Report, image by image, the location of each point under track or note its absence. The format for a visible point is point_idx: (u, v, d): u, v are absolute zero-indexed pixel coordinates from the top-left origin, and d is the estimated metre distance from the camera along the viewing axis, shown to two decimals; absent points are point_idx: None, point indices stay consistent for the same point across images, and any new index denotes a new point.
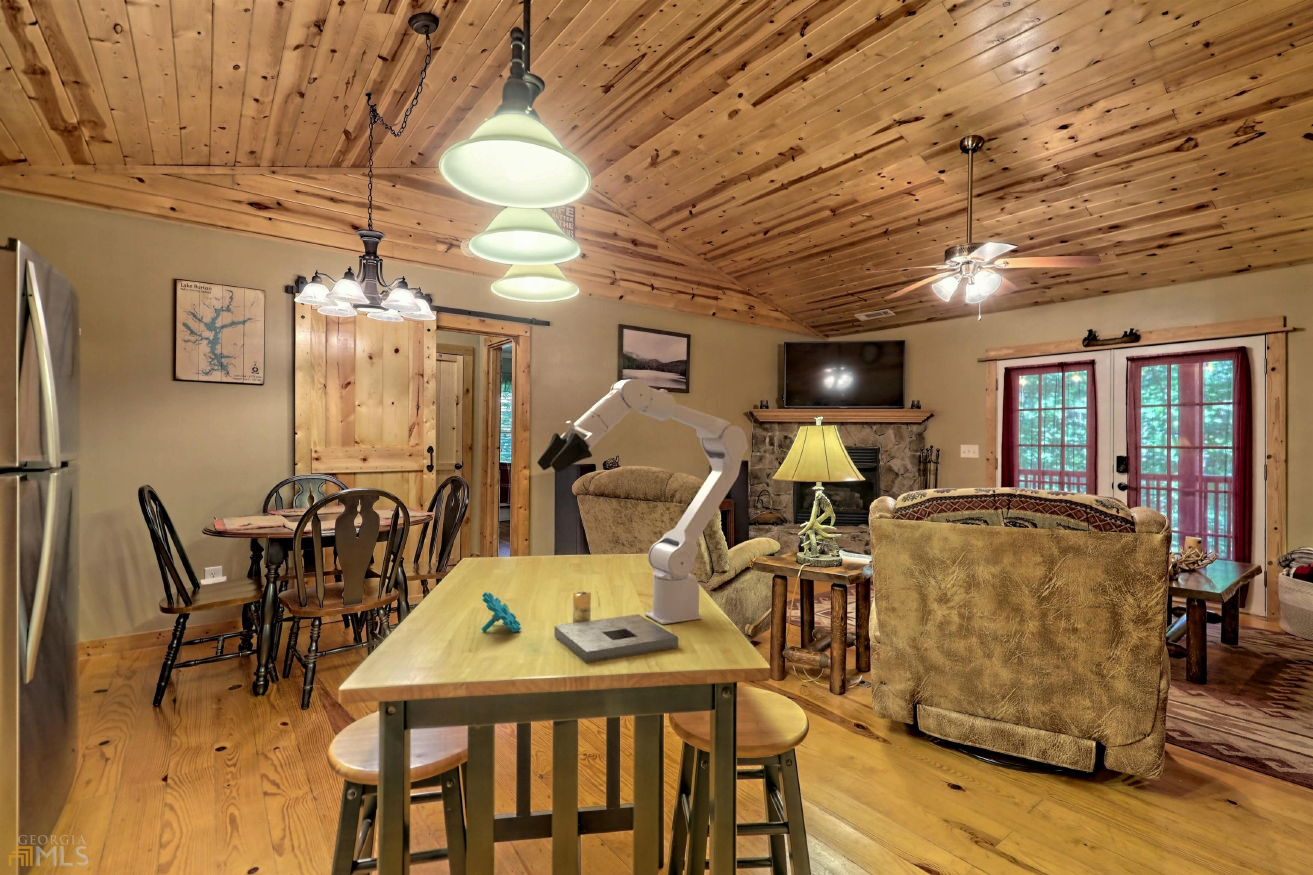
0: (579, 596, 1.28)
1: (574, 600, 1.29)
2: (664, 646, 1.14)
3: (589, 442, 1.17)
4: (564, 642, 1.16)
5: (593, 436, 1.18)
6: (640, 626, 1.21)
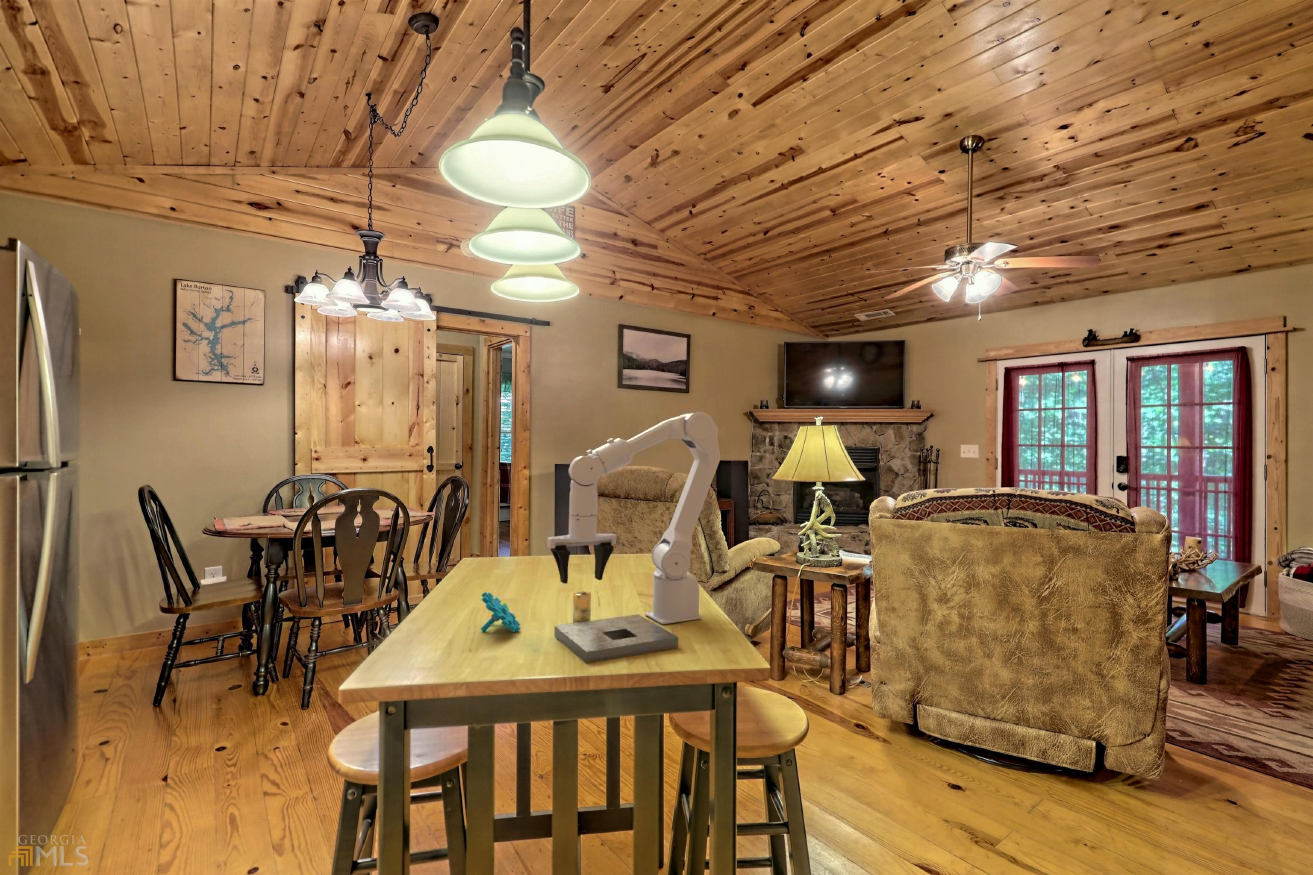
0: (579, 596, 1.28)
1: (574, 600, 1.29)
2: (664, 646, 1.14)
3: (548, 546, 1.26)
4: (564, 642, 1.16)
5: (548, 539, 1.27)
6: (640, 626, 1.21)
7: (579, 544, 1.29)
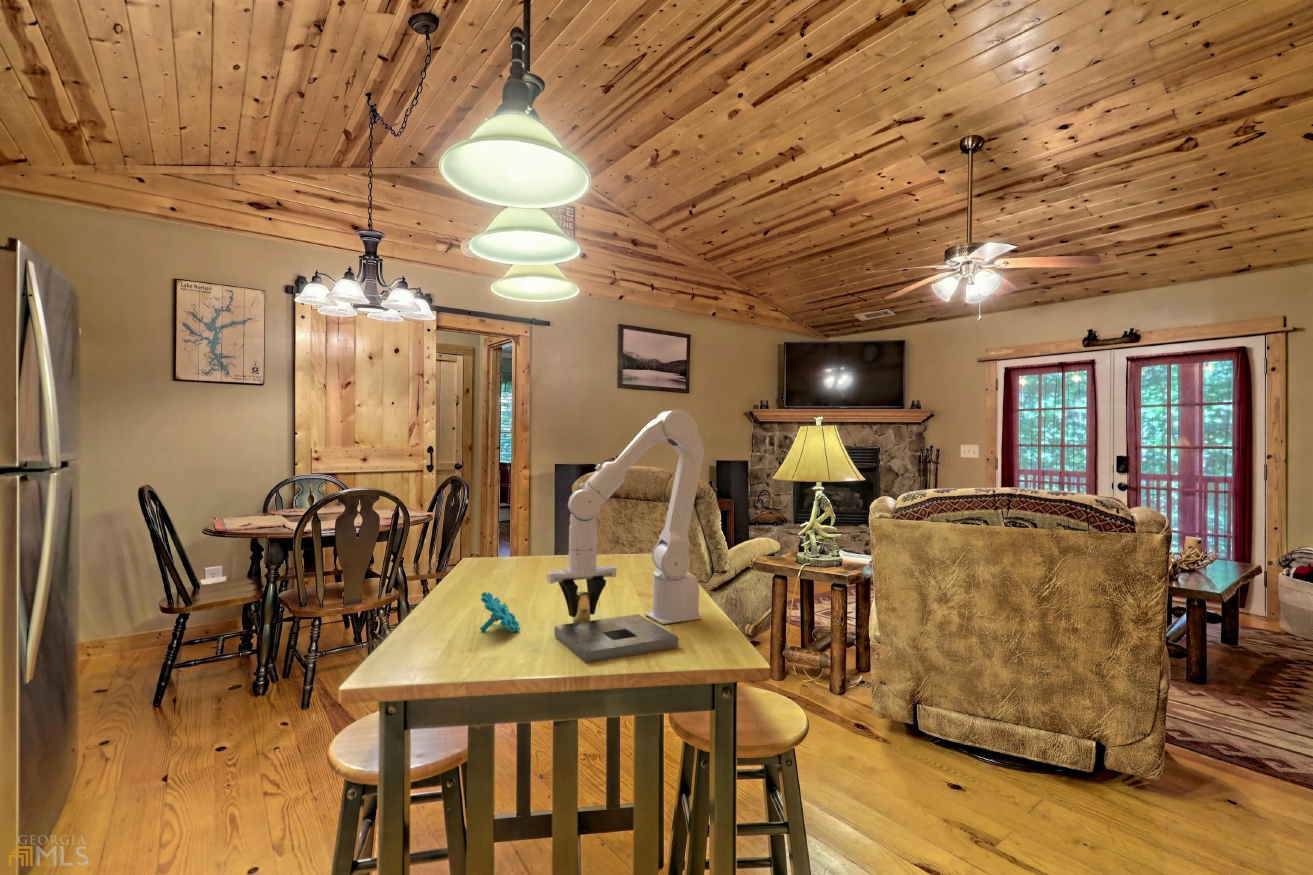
0: (579, 596, 1.28)
1: None
2: (664, 646, 1.14)
3: (548, 581, 1.27)
4: (564, 642, 1.16)
5: (548, 574, 1.27)
6: (640, 626, 1.21)
7: (579, 578, 1.29)
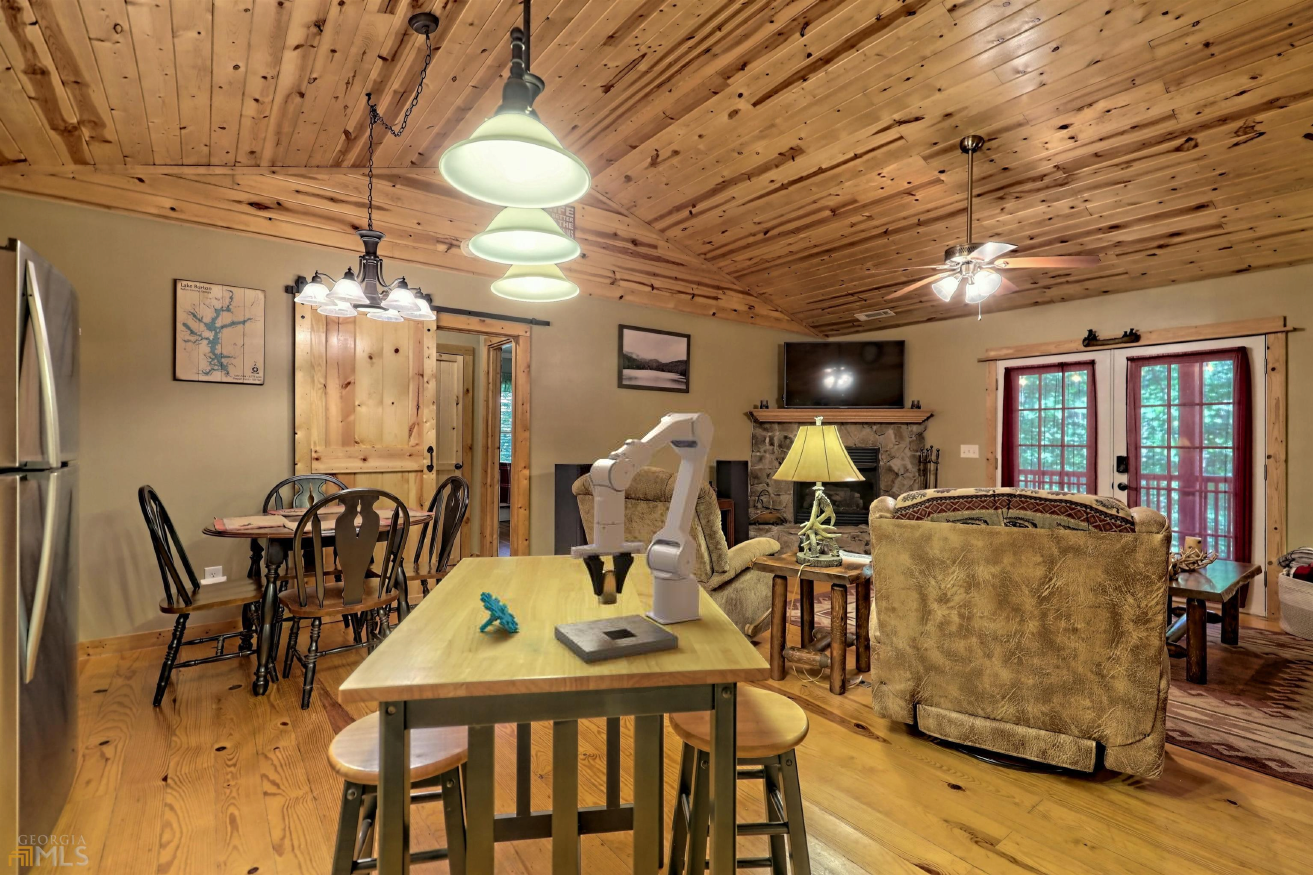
0: (605, 573, 1.19)
1: None
2: (664, 646, 1.14)
3: (572, 556, 1.17)
4: (564, 642, 1.16)
5: (572, 549, 1.17)
6: (640, 626, 1.21)
7: (605, 554, 1.20)
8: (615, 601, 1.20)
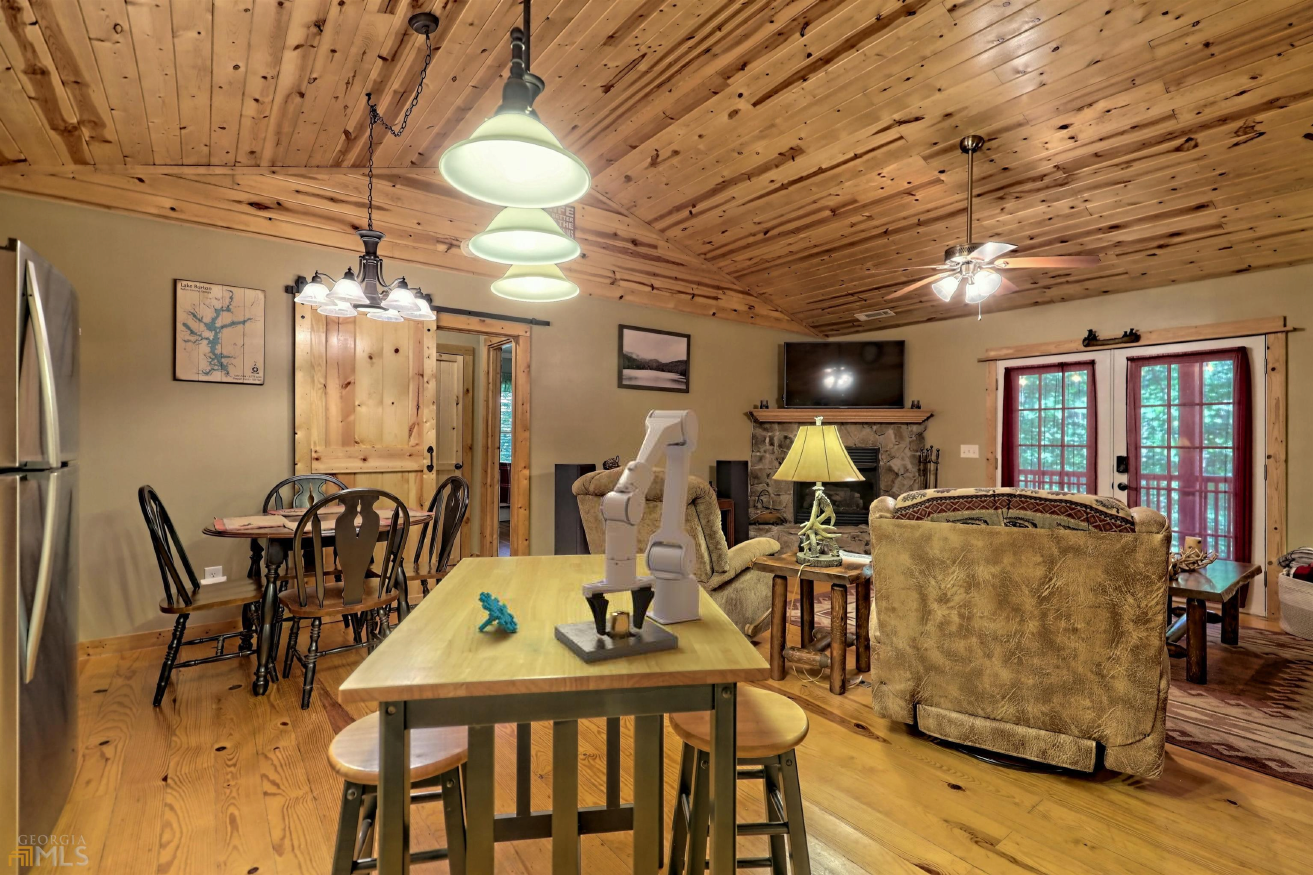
0: (618, 616, 1.15)
1: (612, 620, 1.15)
2: (664, 646, 1.14)
3: (584, 594, 1.13)
4: (564, 642, 1.16)
5: (583, 586, 1.13)
6: None
7: (617, 590, 1.16)
8: None
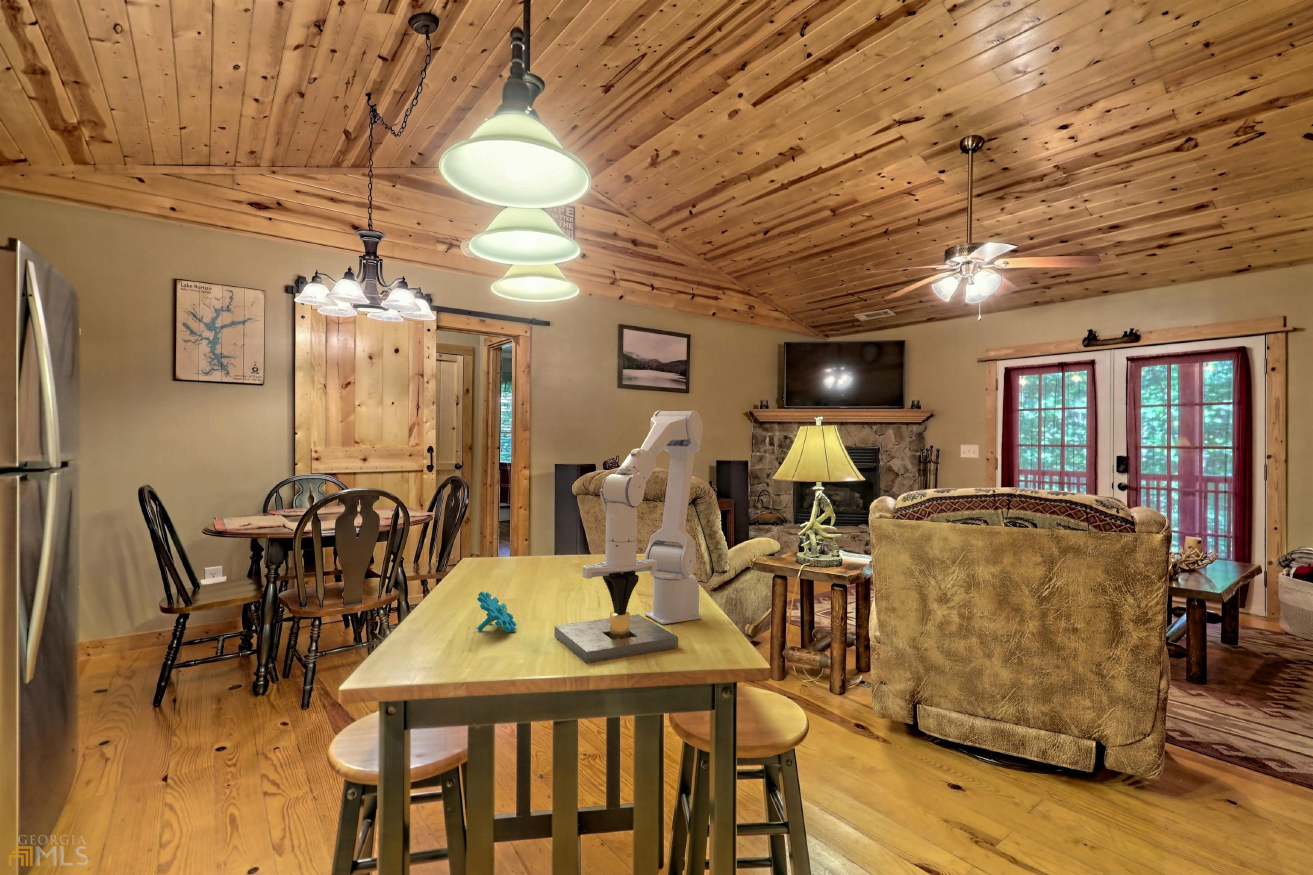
0: (618, 616, 1.15)
1: (612, 621, 1.15)
2: (664, 646, 1.14)
3: (584, 576, 1.13)
4: (564, 642, 1.16)
5: (584, 568, 1.13)
6: (640, 626, 1.21)
7: (617, 573, 1.16)
8: None
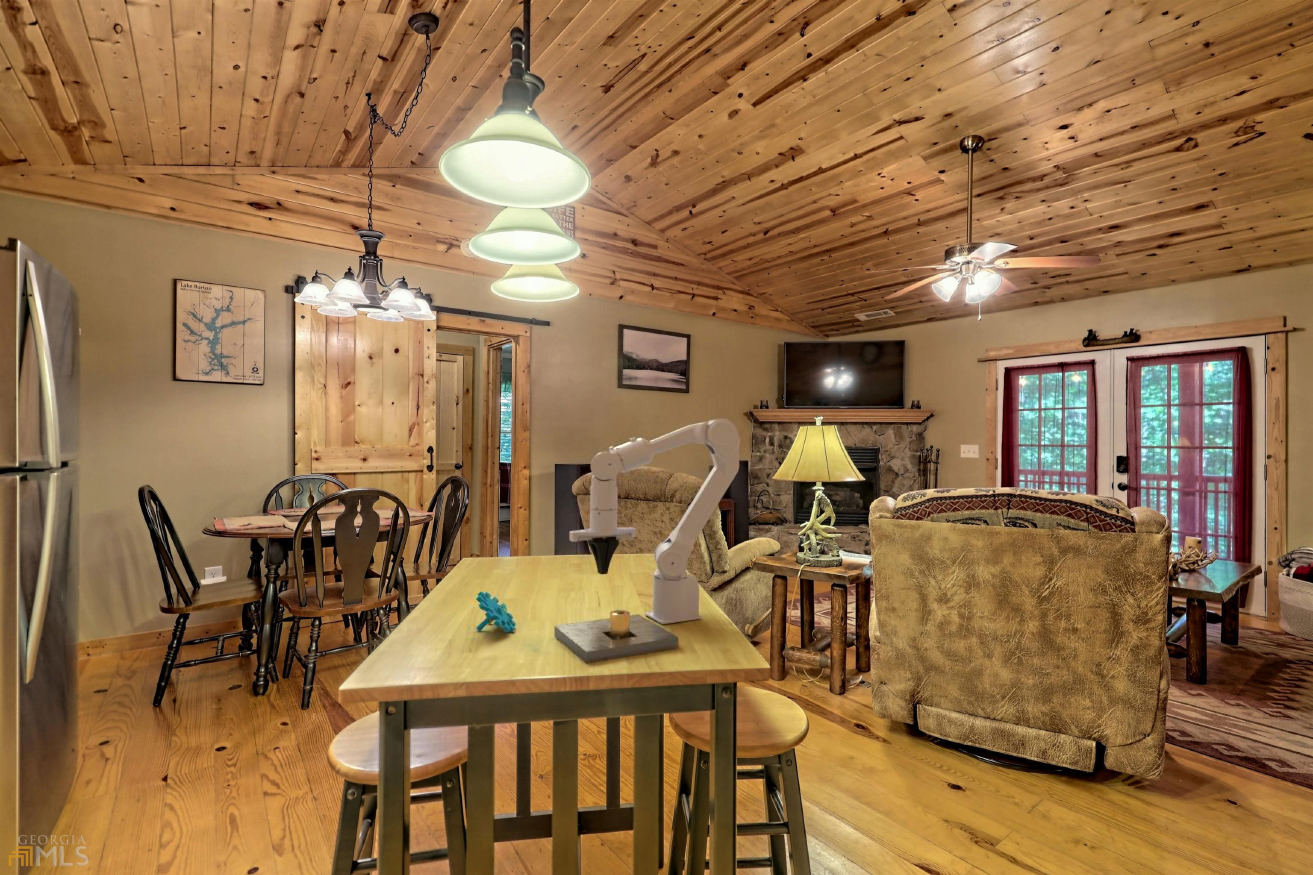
0: (618, 616, 1.15)
1: (612, 621, 1.15)
2: (664, 646, 1.14)
3: (571, 539, 1.30)
4: (564, 642, 1.16)
5: (570, 533, 1.30)
6: (640, 626, 1.21)
7: (600, 537, 1.33)
8: None
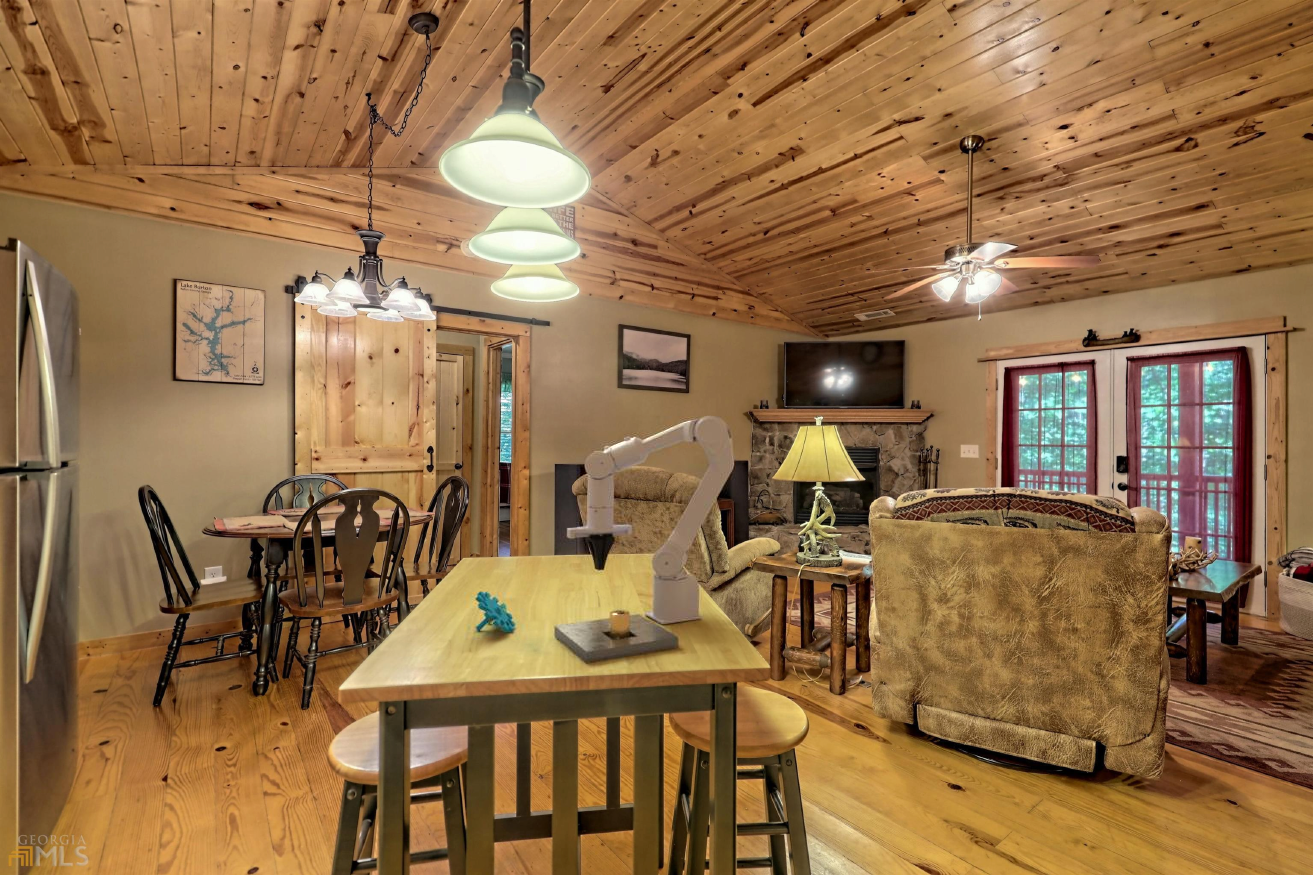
0: (618, 616, 1.15)
1: (612, 621, 1.15)
2: (664, 646, 1.14)
3: (568, 536, 1.34)
4: (564, 642, 1.16)
5: (568, 530, 1.34)
6: (640, 626, 1.21)
7: (597, 534, 1.37)
8: None
